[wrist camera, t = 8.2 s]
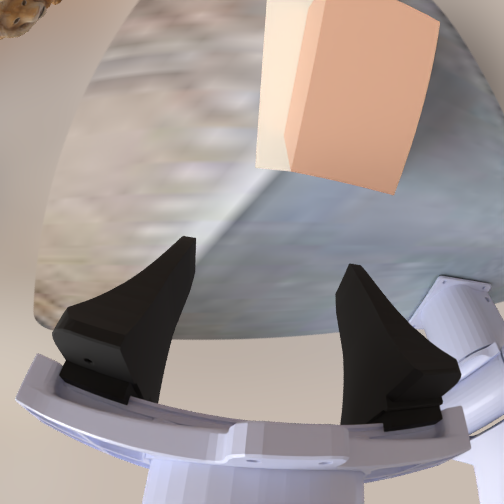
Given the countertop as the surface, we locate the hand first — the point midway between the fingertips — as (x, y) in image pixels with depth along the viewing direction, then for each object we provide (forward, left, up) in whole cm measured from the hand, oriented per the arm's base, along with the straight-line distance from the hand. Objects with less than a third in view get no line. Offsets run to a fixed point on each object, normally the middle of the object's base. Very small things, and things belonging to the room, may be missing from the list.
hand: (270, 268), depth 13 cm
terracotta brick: (-2, -9, -6) cm, 11 cm away
